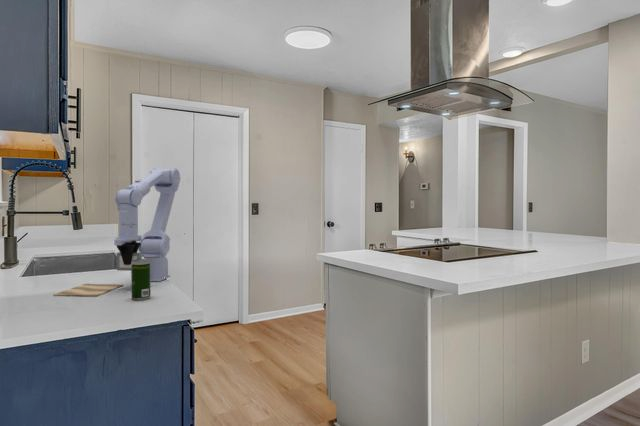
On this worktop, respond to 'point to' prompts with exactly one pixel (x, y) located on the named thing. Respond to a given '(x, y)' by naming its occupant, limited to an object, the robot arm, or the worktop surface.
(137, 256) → the tile
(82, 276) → the worktop surface
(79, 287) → the mat
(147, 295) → the guarana soda can
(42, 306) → the worktop surface
